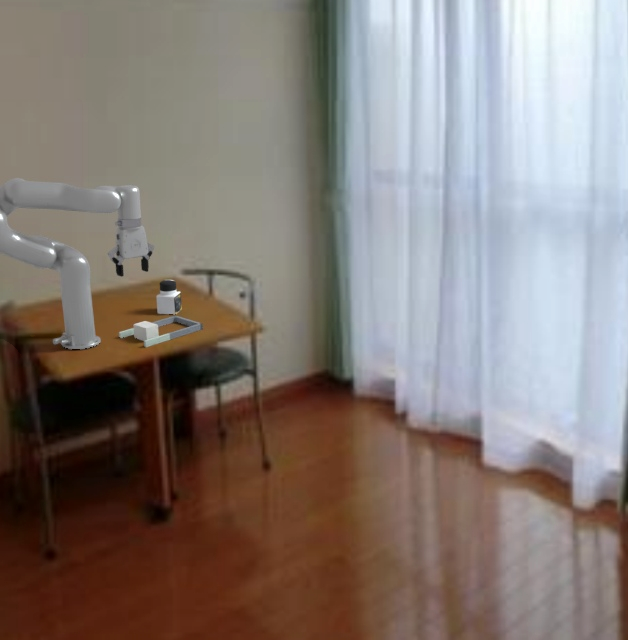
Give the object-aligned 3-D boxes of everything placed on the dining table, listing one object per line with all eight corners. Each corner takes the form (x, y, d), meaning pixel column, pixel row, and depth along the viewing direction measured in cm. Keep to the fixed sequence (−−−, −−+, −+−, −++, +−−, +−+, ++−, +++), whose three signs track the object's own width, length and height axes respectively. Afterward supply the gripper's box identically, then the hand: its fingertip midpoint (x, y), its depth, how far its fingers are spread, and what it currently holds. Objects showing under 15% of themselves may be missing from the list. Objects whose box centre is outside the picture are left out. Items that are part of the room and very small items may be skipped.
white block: (147, 342, 284) (146, 328, 282) (134, 338, 288) (133, 324, 287) (159, 338, 288) (157, 324, 286) (146, 334, 292) (145, 320, 290)
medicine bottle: (175, 315, 312) (173, 283, 309) (157, 314, 314) (155, 283, 310) (182, 309, 319) (180, 278, 315) (164, 308, 320) (162, 278, 317)
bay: (146, 347, 279) (145, 341, 278) (119, 337, 289) (118, 332, 288) (202, 329, 296) (202, 323, 295) (175, 320, 306) (175, 315, 305)
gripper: (112, 228, 271) (116, 279, 276) (158, 221, 283) (160, 271, 288) (100, 225, 276) (104, 275, 281) (145, 218, 288) (148, 267, 293)
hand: (132, 273), depth 285 cm, fingers open, 9 cm apart
